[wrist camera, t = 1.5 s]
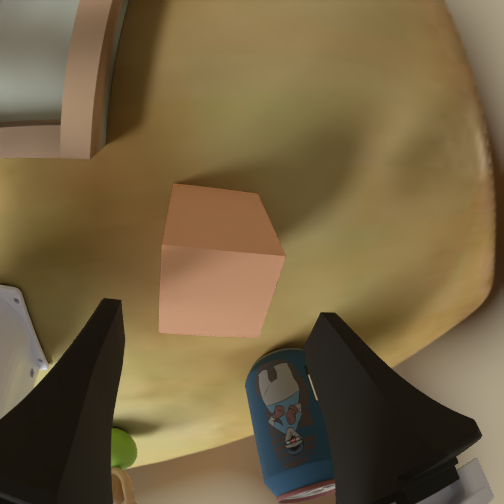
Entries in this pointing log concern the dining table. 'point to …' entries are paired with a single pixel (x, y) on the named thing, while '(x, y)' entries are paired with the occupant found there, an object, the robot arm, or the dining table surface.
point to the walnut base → (57, 75)
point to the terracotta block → (217, 263)
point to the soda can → (289, 427)
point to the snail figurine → (122, 466)
